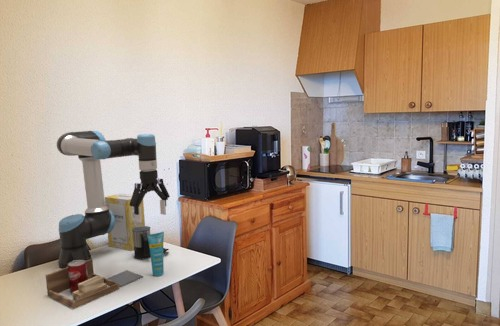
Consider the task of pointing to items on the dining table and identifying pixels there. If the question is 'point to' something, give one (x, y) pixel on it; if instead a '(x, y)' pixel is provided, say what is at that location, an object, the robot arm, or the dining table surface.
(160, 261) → the tube
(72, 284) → the soda can
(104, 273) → the dining table surface
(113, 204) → the pasta box
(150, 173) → the robot arm
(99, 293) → the wooden tray frame
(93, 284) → the top offcut
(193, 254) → the dining table surface
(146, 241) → the milk frother
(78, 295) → the bottom offcut
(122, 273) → the plate
